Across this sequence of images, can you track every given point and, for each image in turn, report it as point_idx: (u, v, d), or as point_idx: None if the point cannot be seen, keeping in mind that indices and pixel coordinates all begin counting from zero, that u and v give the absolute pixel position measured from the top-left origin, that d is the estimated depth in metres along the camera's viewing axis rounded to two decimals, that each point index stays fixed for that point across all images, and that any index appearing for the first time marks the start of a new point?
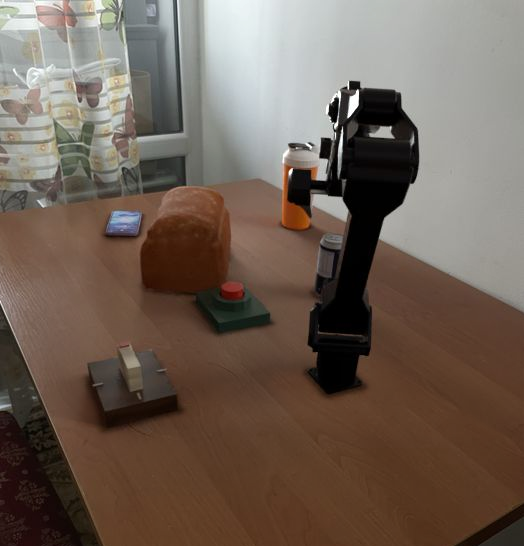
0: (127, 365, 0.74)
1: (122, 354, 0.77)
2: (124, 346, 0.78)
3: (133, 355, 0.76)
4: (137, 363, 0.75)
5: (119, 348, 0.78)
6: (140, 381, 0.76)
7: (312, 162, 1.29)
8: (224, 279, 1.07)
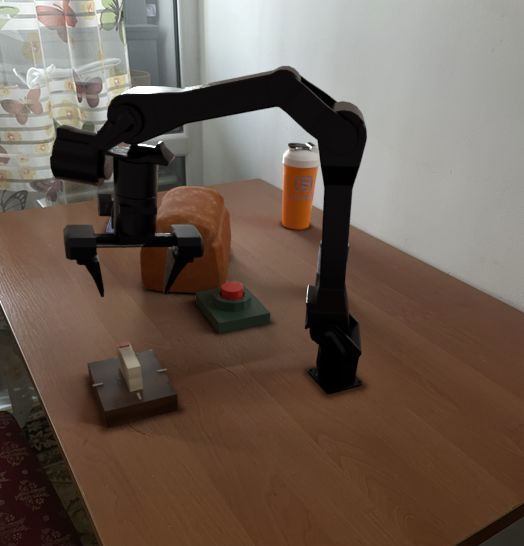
0: (127, 365, 0.74)
1: (122, 354, 0.77)
2: (124, 346, 0.78)
3: (133, 355, 0.76)
4: (137, 363, 0.75)
5: (119, 348, 0.78)
6: (140, 381, 0.76)
7: (312, 162, 1.29)
8: (224, 279, 1.07)
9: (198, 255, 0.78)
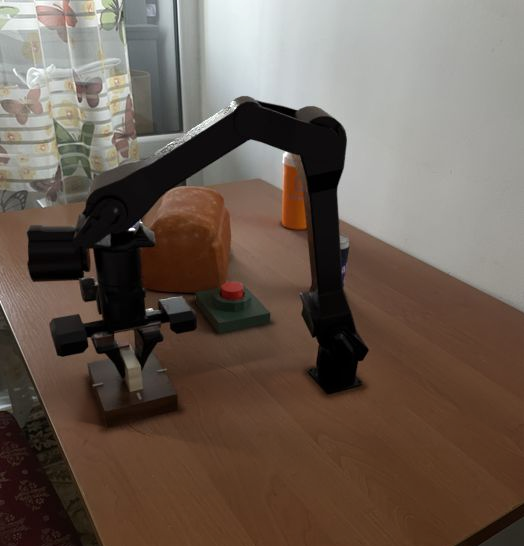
0: (127, 365, 0.74)
1: (122, 354, 0.77)
2: (124, 346, 0.78)
3: (133, 355, 0.76)
4: (137, 363, 0.75)
5: (119, 348, 0.78)
6: (140, 381, 0.76)
7: None
8: (224, 279, 1.07)
9: (192, 328, 0.75)
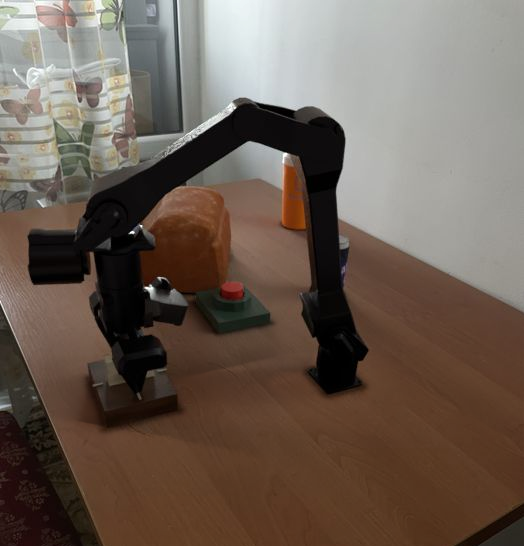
0: (109, 355, 0.76)
1: None
2: None
3: None
4: (111, 360, 0.75)
5: None
6: (107, 377, 0.76)
7: None
8: (224, 279, 1.07)
9: (118, 371, 0.67)
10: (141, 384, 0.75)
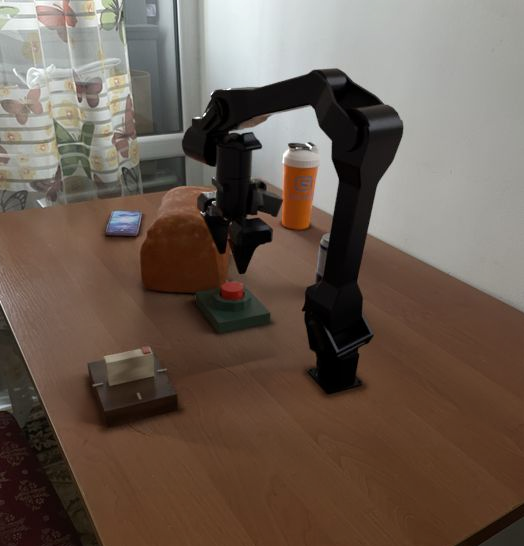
0: (109, 355, 0.76)
1: (129, 351, 0.77)
2: (142, 350, 0.77)
3: (126, 357, 0.76)
4: (111, 360, 0.75)
5: (140, 349, 0.78)
6: (107, 377, 0.76)
7: (312, 162, 1.29)
8: (224, 279, 1.07)
9: (236, 242, 0.84)
10: (246, 265, 0.91)
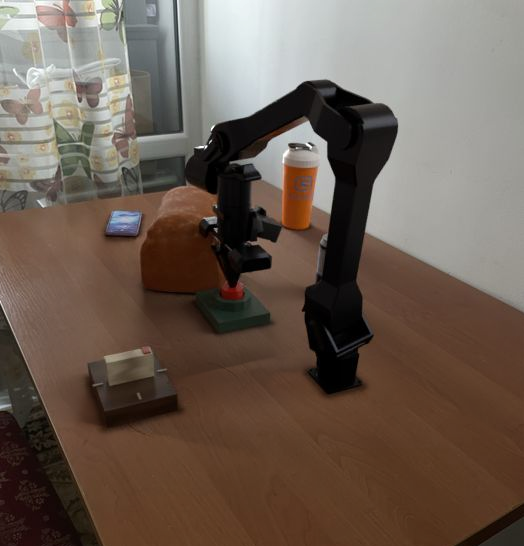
0: (109, 355, 0.76)
1: (129, 351, 0.77)
2: (142, 350, 0.77)
3: (126, 357, 0.76)
4: (111, 360, 0.75)
5: (140, 349, 0.78)
6: (107, 377, 0.76)
7: (312, 162, 1.29)
8: (224, 279, 1.07)
9: (236, 269, 0.87)
10: (237, 279, 0.97)
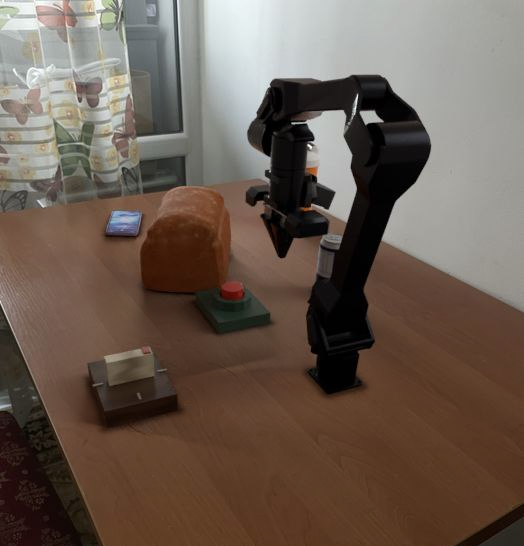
0: (109, 355, 0.76)
1: (129, 351, 0.77)
2: (142, 350, 0.77)
3: (126, 357, 0.76)
4: (111, 360, 0.75)
5: (140, 349, 0.78)
6: (107, 377, 0.76)
7: (312, 162, 1.29)
8: (224, 279, 1.07)
9: (293, 235, 0.83)
10: (287, 249, 0.93)
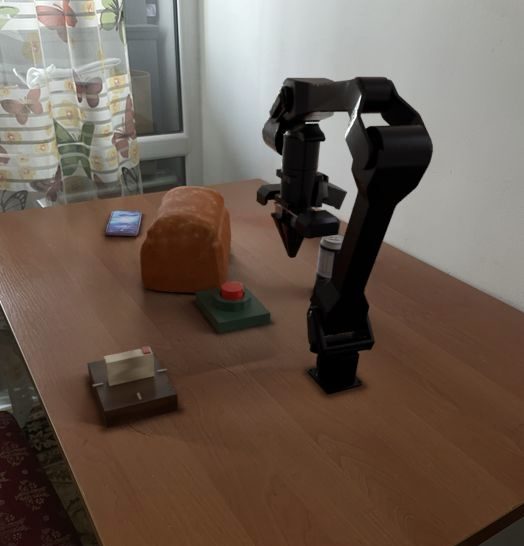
0: (109, 355, 0.76)
1: (129, 351, 0.77)
2: (142, 350, 0.77)
3: (126, 357, 0.76)
4: (111, 360, 0.75)
5: (140, 349, 0.78)
6: (107, 377, 0.76)
7: None
8: (224, 279, 1.07)
9: (304, 235, 0.83)
10: (297, 248, 0.93)
